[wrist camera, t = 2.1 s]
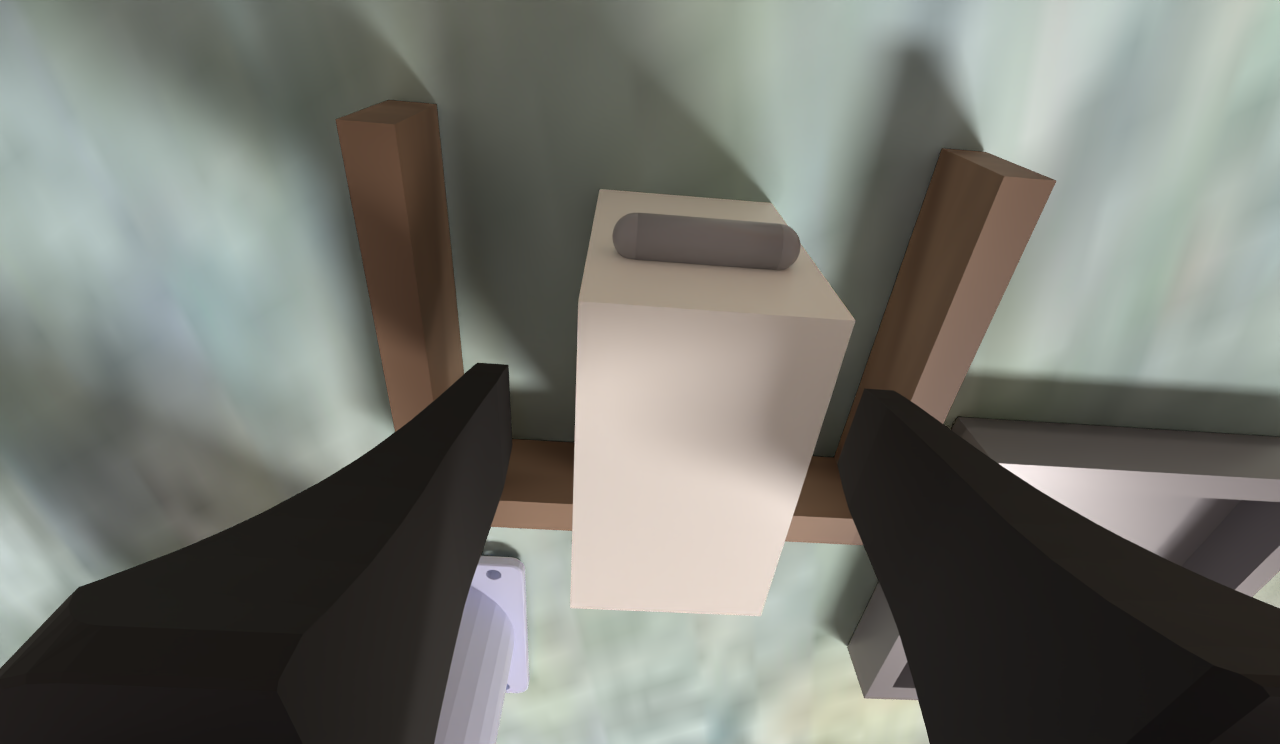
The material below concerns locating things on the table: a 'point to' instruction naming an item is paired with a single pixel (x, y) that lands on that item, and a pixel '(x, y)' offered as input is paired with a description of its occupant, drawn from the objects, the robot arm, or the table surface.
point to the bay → (544, 470)
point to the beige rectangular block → (695, 401)
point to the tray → (1121, 509)
